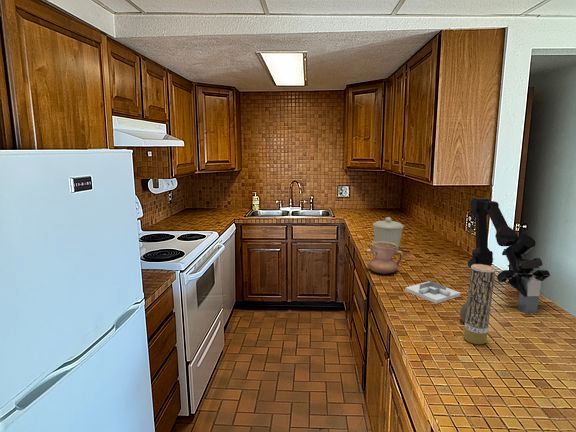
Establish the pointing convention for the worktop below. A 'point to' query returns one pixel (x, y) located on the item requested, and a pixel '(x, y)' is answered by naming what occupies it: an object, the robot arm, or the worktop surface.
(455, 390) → the worktop surface
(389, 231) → the canister
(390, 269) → the ceramic jug
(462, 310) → the vase
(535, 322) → the worktop surface
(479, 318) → the bark covered log
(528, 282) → the silver metal block
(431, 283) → the plate
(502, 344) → the worktop surface
